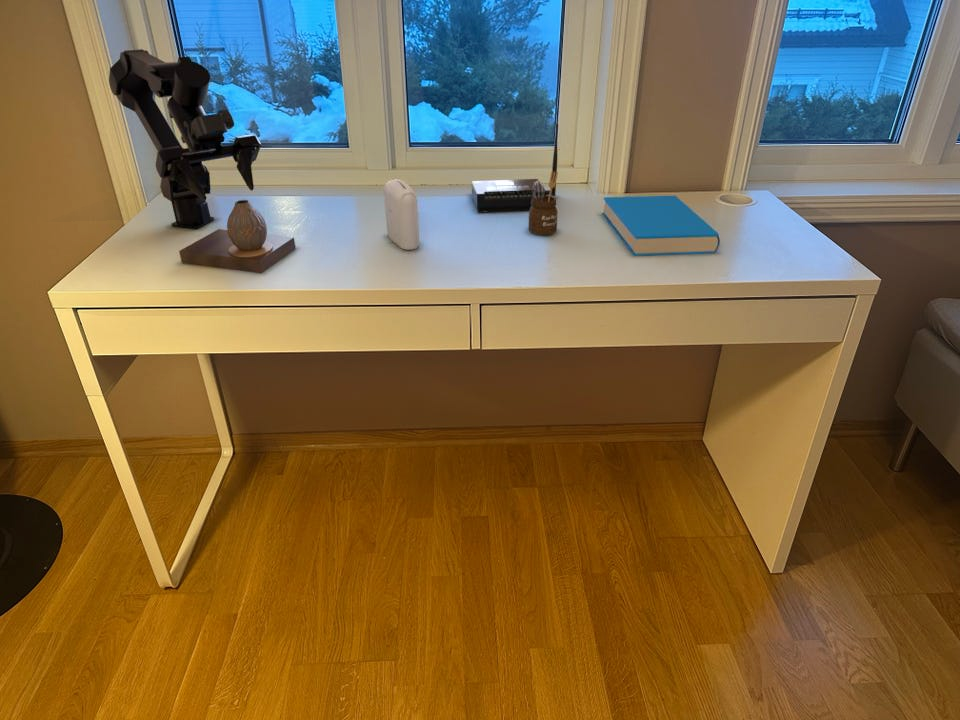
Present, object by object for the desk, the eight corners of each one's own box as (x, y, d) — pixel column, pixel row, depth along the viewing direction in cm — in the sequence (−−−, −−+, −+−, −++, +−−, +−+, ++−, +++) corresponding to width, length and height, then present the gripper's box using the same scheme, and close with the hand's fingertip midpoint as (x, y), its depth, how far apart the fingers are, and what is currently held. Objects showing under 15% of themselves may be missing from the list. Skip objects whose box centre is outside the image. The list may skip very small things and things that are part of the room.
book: (636, 236, 129) (602, 195, 150) (633, 258, 131) (600, 214, 152) (723, 233, 130) (677, 193, 151) (718, 254, 132) (674, 212, 153)
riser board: (181, 263, 127) (178, 249, 126) (221, 240, 138) (218, 227, 136) (261, 273, 123) (258, 259, 122) (295, 249, 134) (293, 235, 132)
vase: (245, 257, 123) (236, 210, 118) (223, 248, 126) (214, 202, 122) (277, 246, 127) (269, 200, 123) (254, 238, 131) (247, 193, 127)
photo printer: (384, 235, 140) (380, 176, 134) (404, 232, 142) (400, 173, 136) (401, 252, 132) (397, 189, 126) (422, 248, 134) (419, 187, 128)
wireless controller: (478, 213, 153) (477, 135, 144) (470, 194, 165) (470, 121, 156) (564, 209, 155) (569, 132, 146) (551, 191, 167) (555, 119, 158)
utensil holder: (522, 231, 142) (524, 174, 136) (541, 224, 146) (543, 168, 140) (544, 238, 139) (547, 180, 133) (562, 230, 143) (566, 174, 137)
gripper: (145, 101, 115) (184, 179, 114) (248, 89, 126) (285, 160, 125) (140, 140, 124) (177, 213, 123) (237, 126, 135) (271, 193, 134)
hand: (229, 194), depth 126 cm, fingers open, 9 cm apart
